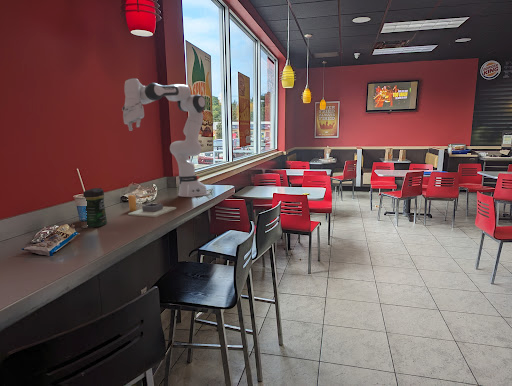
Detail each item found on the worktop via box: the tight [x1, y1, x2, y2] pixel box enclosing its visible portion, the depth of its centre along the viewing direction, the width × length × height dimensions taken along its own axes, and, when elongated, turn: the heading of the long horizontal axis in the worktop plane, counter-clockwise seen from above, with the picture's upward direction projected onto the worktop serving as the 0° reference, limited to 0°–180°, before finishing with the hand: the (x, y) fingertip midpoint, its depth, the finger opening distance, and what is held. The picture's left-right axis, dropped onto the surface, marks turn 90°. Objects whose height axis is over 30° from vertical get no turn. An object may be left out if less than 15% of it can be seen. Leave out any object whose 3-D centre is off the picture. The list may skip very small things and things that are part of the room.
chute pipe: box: [127, 194, 138, 212], centre depth 197 cm, size 4×4×9 cm
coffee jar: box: [82, 187, 108, 229], centre depth 165 cm, size 10×8×19 cm
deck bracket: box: [127, 202, 177, 218], centre depth 192 cm, size 18×20×4 cm
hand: (134, 128), depth 198 cm, fingers open, 8 cm apart
